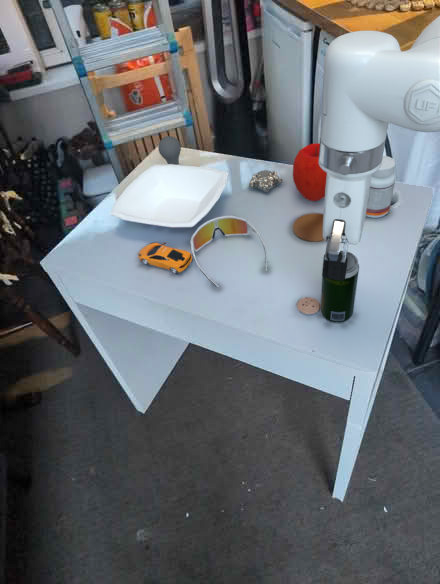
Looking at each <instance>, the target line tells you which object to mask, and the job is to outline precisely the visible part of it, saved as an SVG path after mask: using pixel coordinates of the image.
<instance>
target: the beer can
mask: <svg viewBox="0 0 440 584" xmlns="http://www.w3.org/2000/svg"><path fill="white" fill-rule="evenodd" d="M340 253H343V250H340ZM346 258H348V262H347V270H346V277H345V280H344V281H341V280H335V279H328V278H323V277H322V276H321V291H320V292H321V294H320V313H321V315H322V317H323V318H324V319H325V320H326V321H327V322H328V323H330V324H334V325H335V324H336V325H339V324H344V323H346V322H348V321H349V320H350V319H351V318H352V317H353V314H354V309H355V303H356V293H357V287H358V280H359V273H360V272H359V271H360V264H359V259H358V258H357V256H356V255H355V254H353V253H352V252H350V251H347V255H346Z"/></svg>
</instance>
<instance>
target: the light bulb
mask: <svg viewBox="0 0 440 584" xmlns="http://www.w3.org/2000/svg"><path fill="white" fill-rule="evenodd" d="M157 149H158V152H159V154H160V156H161V157H162V158H163V159H164V160H165V162H166V164H174V165H180V154H181V150H182V146H181V142H180V141H179V140H178V139H177V138H176V137H175V136H171V135H166V136H164V137H162V139H160V141H159V143H158V147H157Z"/></svg>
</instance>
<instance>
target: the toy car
mask: <svg viewBox="0 0 440 584" xmlns="http://www.w3.org/2000/svg"><path fill="white" fill-rule="evenodd" d="M166 244H167V242H162V244H161V243H159V242H150V243H149V244H147V245H145V246H143V247H142V248H141V249H140V250H139V251H138V253H137V257H138V259H139V260H140V262H142V263H143V264H144V265H146V266H152V267H153V266H154V267H156V268H161V269H165V270H168V271H171V272H172V273H173V274H175V275H177V274H180V273H182V272H184V271H185V270H187V269H188V268H189V267H190V266H191V264H192V262H193V259H194V257H193V255H192V252H190V251H188V250H184V249H180V248H175V247H170V246H167V245H166Z"/></svg>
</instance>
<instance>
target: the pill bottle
mask: <svg viewBox="0 0 440 584" xmlns="http://www.w3.org/2000/svg"><path fill="white" fill-rule="evenodd" d="M395 168H396V160H395V159H394V158H393V157H390V156H388V155H383V158H382V164H381V166H380V168H379V169H378V170H377V171H375V172H374V173H372V177H371V184H370V191H369V197H368V203H367V209H366V215H365V217H368V218H373V219H375V218H376V219H379V218H382V217H384V216H387V214H388V213H390V210H391V204H392V200H393V195H394V194H393V193H394V189H395V183H396V173H395V170H396V169H395Z"/></svg>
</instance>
